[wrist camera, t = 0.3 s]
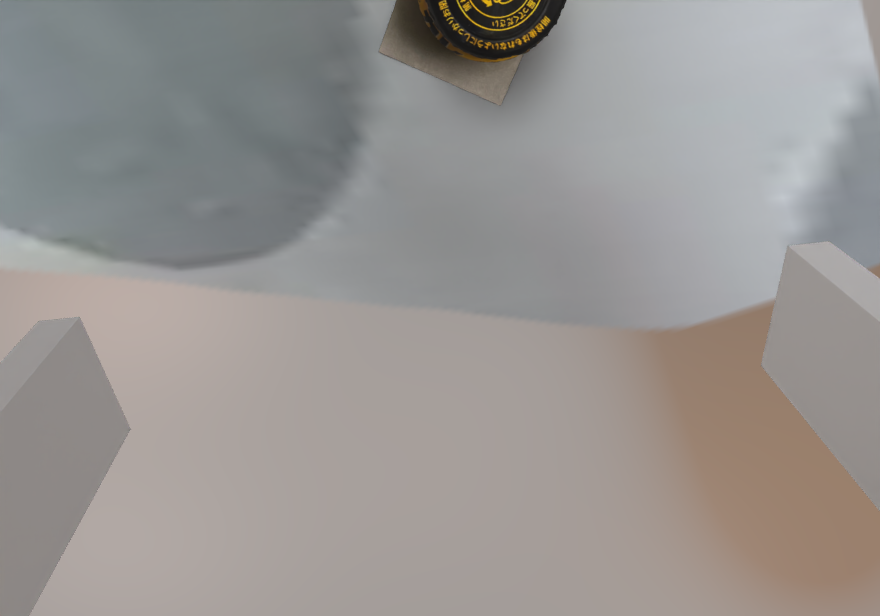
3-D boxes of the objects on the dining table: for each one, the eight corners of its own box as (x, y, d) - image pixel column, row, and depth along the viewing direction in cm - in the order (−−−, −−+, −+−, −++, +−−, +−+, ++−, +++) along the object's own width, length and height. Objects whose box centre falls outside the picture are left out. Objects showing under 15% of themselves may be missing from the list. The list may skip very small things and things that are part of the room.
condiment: (571, -55, 32) (632, -78, 21) (500, 105, 36) (521, 154, 25) (438, -121, 31) (433, -182, 20) (378, 51, 34) (346, 77, 24)
